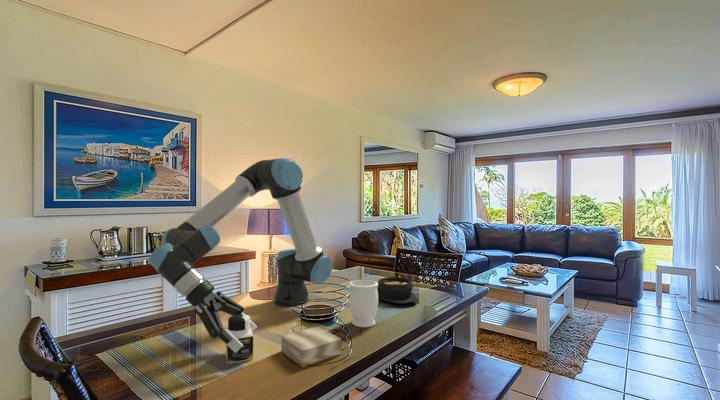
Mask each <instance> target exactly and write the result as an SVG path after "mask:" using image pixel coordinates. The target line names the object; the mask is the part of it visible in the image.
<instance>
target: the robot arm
mask: <svg viewBox="0 0 720 400" xmlns="http://www.w3.org/2000/svg"><path fill="white" fill-rule="evenodd" d="M301 167H302V166H300V164H299V163H298V162H296V160H294V159H291V158H284V157H280V158H274V159H264V160H263V159H262V160H259V161H256V162H255V163H253V164H251V165H250V166H248V167H247V168H246V169H245V170H243V171H242V172H241V173H240V174H238V175H237V176H236V177H235V179H234V182H232V183H231V184H230V185H229V186H227V188H225V189H224V190H223V191H221V192H220V193H219V194H217V195H216V196H215V197H213V199H211V200H210V201H208V202H207V203H206V204H205V205H203V206H202V207H201V208H200V209H199V210H197V211H196V212H195V213H193V215H191V216H190V217H189V218H188V219H186V220H185V221H184V222H183V223H181V224H180V225H179V226H177V227H174V228H169V229H167V230H166V231H165V232H163V234H162V237H161V244H162V245H159V246H158V247H157V248H156V249H155V250H153V251H152V252H151V254H150V255H149V256H148V262H149V265H151V266H152V267H153V268H154V270H155V271H156V272H157V273H158V274H159V275H160V276H162V278H164V280H165V281H167V282H168V284H170V285H171V286H172V287H173V288H174V289H175V290H176V292H177V293H179V294H180V295H181V296H182V297H185V300H186V302H188V303H189V304H190V305H191V306H192V307H194V312H195V313H196V315H197V316H198V317H199V320H200V321H201V322H202V324H203V326H204V328H205V329H206V331H207V334H208V335H209V336H210V338H212V339H214V340H216V339H217V338H219V339H221V341H222V342H224V344H225V345H226V344H227V345H228V346H229V347H230V348H231V349H232V350H233V351H234V352H235V353H236V352H237V351H238V350H239V349H240V348H241V347H242V346H243V344H242V343H241V342H240V341H239V340H238V339H237V338H236V337H235V336H234V335H233V334H231V333H230V332H229V331H228V328H225V329H224V325H223V323H222V321H221V318H220V315H219V312H222V313H225V314H228V315H230V316H233V315H237V314H245V313H244V311H245V308H244V307H243V306H242V305H241V304H239V303H238V302H236V301H234V300H233V299H231V298H229V297H228V296H226V295H225V294H224V293H223V292H221V291H220V290H218V291H217V292H215V293H214V290H215V286H214V285H213V284H212V283H211V282H210V281H209V280H208V279H205V276H204V275H203V274H202V273H201V272H200V271H199V270H198V269H197V268H195V266H194V264H195V263H197V262H198V261H199V260H200V259H201V258H203V257H204V256H206V255H207V254H208V253H210V252H211V251H213V250H214V249H215V248H216V247H217V246H218V245H219V244H220V242H221V237H220V234H219V233H218V231H217V230H216V229H215V228H214V227H215V225H217V224H218V223H220V222H221V220H223V219H224V218H225V217H227V215H229V214H230V213H231V212H232V211H234V209H236V208H237V207H238V206H239V205H240V204H242V202H244V201H245V200H246V199H247V198H249V197H250V198H251V197H254V196H255V195H256V194H258V193H259V192H262V191H266V190H268V191H269V192H270V195H271V198H272V199H273V200H276V201H277V203H278V205H279V207H280V211H281V213H282V216H283V218H284V221H285V223H286V227H287V231H288V232H289V235H290V237H291V238H290V239H291V240H292V243H293V246H294V248H291V249H290V248H289V249H284V250H280V251H279V252H278V254H277V259H276V260H277V287H276V290H275V292H274V296H273V303H274V304H275V305H277V306H281V307H283V306H284V307H293V306H300V305H303V304H306V303H307V302H309V298H310V295H309V292H308V289H307V286H306V283H305V282H309V283H312V284H324V283H325V282H326V281H327V280H328V279H329V278H330V276H331V274H332V271H333V265H334V264H333V260H332V258H331V257H330V256H328V255H325V254H324V251H323V248H322V247H321V246H320V245H318V244H317V241H316V239H315V236H314V234H313V233H314V232H313V230H312V228H311V225H310V222H309V220H308V215H307V213H306V211H305V207H304V204H303V201H302V199H301V195H300V192H301V190H302V186H301V185H302V184H303V179H304V174H303V170H302V168H301ZM301 300H302V302H303V304H301ZM250 328H251V331H252V333H253V332H254V331H255V330H256V329H257V328H258V326H257V325H256V324H255V323H254V321H252V320H251V319H250Z"/></svg>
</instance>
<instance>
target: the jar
mask: <svg viewBox="0 0 720 400" xmlns="http://www.w3.org/2000/svg"><path fill="white" fill-rule="evenodd" d="M349 287H350V291H349V306H350V313H351V316H352V319H353V320H352V325H353V326H355V327H358V328H369V327H373V326H374V325H376V320H375V318H376V316H377V312H378V306H379V299H378V291H377V289H378V288H377V287H378V281H376V280H372V279H358V280H352V281H351V282H350V283H349Z"/></svg>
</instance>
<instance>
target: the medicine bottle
mask: <svg viewBox="0 0 720 400" xmlns="http://www.w3.org/2000/svg"><path fill="white" fill-rule="evenodd" d="M250 320H251V316H250V315H248V314H245V313H244V314H237V315H233V316H232V315H230V316H229V318H228V320H227V322H228V323H227V326H228V327H227V330H228V331H229V332H230V333H231V334H233V335H234V336H235V337H236V338H237V339H238V340H239V341H240V342H241V343H242V344H243V346H242V347H241V348H240V349H239V350H238V351H237V352H236V353H235V352H234V351H233V350H232V349H231V348H230V347H229V346H228V345H227V344H226V343H225V356H226V357H225V358H226V364H227V365H230V364H234V363H240V362H245V361H253V360H254V334H253V332H252V331H251V328H250Z"/></svg>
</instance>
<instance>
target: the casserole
mask: <svg viewBox="0 0 720 400" xmlns="http://www.w3.org/2000/svg"><path fill="white" fill-rule="evenodd" d="M377 282H378V287H377V291H378V300H381V301H383V302H387V303H393V304H397V305H398V304H399V305H402V304H411V303H414V302H417V301H418V298H417V296H416V294H415V292H412V291H413V288H414V284H413V282H412V280H411V279H408V278H405V277H398V276H397V277H396V276H395V277H394V276H391V277H390V276H389V277H383V278H380V279H378V280H377Z"/></svg>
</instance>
